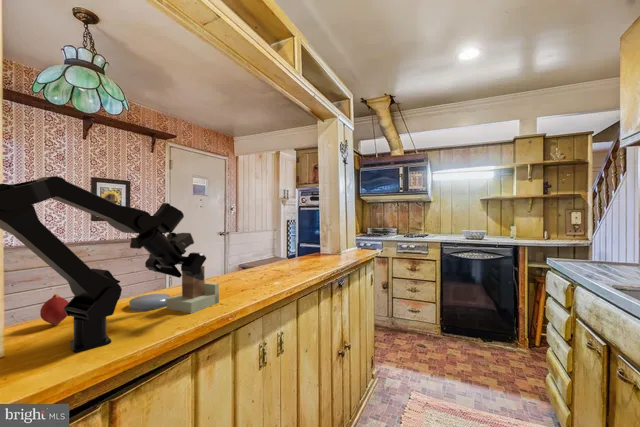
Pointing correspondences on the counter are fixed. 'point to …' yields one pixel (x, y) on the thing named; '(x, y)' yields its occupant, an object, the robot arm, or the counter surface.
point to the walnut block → (192, 286)
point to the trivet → (148, 302)
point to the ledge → (195, 300)
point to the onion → (54, 310)
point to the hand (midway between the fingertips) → (191, 277)
